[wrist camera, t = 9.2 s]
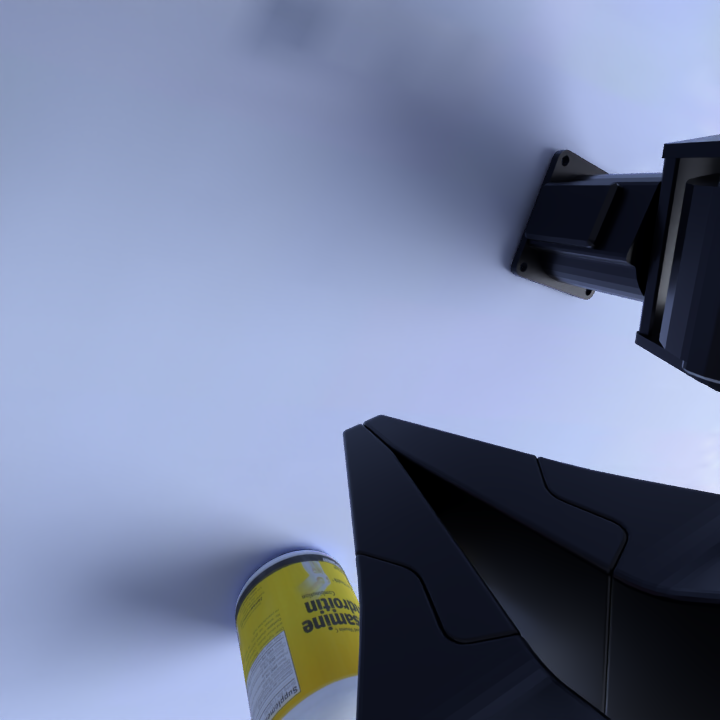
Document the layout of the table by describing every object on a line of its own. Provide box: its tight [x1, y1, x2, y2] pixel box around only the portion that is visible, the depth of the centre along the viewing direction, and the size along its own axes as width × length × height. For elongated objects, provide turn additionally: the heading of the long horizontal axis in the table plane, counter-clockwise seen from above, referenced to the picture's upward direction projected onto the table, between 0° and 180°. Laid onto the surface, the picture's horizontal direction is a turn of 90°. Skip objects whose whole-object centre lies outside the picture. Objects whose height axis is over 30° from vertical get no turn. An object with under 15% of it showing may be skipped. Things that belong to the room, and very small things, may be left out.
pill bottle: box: [235, 550, 360, 720], centre depth 20 cm, size 6×6×12 cm
